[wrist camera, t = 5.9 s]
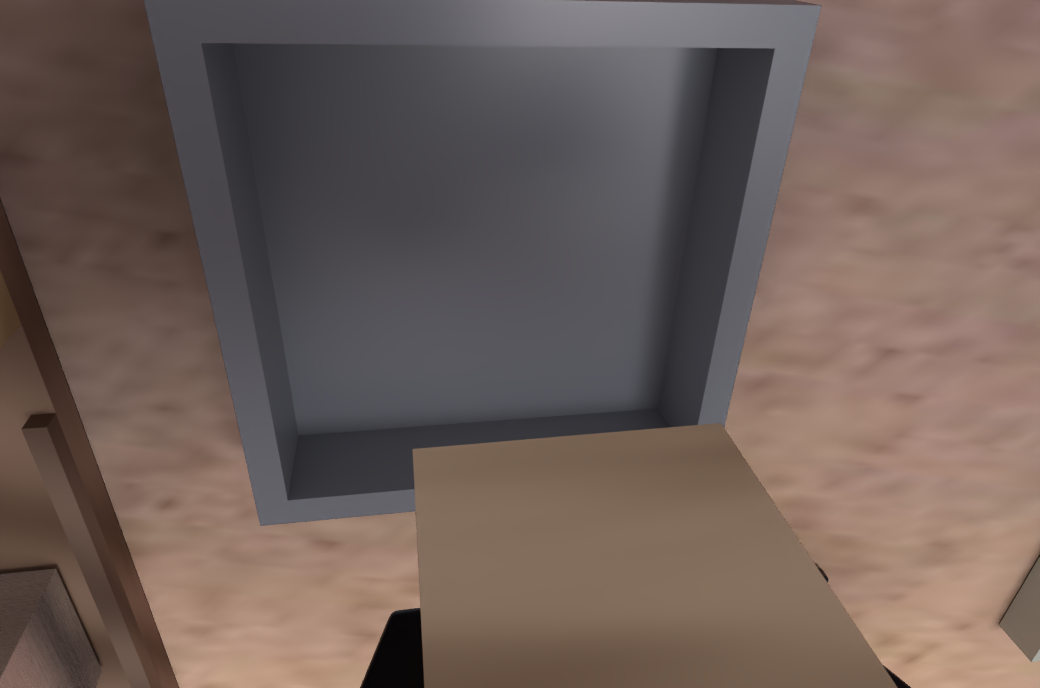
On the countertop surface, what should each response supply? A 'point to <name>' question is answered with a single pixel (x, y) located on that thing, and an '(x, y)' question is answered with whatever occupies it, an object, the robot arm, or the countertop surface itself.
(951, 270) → the countertop surface
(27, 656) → the grey small block
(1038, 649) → the fruit rim
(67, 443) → the track
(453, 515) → the block
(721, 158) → the tray
